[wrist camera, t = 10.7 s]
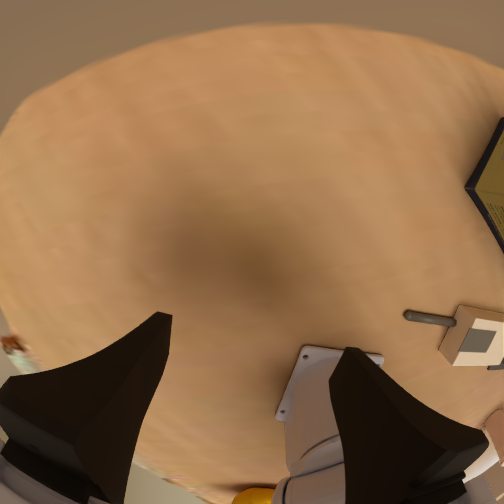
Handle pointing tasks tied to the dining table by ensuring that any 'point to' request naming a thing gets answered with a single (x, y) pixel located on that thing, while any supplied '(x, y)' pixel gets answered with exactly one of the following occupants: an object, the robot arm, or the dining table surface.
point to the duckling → (254, 496)
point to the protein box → (491, 184)
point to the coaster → (496, 367)
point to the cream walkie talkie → (469, 335)
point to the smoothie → (497, 432)
